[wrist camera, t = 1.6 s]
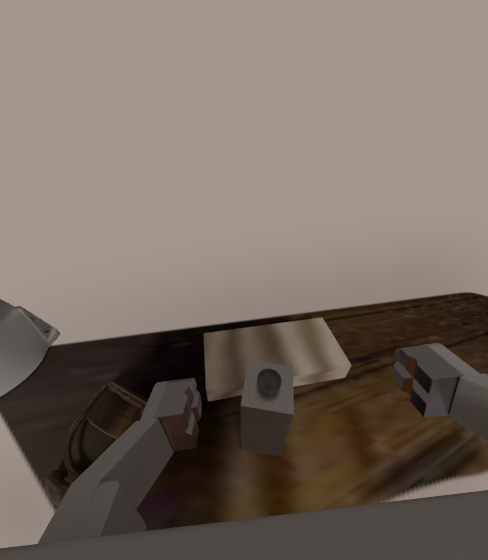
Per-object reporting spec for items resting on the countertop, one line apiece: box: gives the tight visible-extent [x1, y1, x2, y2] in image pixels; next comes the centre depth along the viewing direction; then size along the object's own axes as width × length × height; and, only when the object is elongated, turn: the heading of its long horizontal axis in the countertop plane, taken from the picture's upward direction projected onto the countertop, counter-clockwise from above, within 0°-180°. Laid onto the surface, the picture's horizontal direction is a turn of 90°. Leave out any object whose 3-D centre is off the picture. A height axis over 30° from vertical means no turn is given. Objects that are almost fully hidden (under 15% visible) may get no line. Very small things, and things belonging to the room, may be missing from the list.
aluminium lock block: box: [241, 360, 294, 456], centre depth 26 cm, size 5×5×13 cm
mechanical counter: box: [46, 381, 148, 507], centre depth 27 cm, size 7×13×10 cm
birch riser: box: [204, 318, 351, 401], centre depth 38 cm, size 22×10×4 cm, turn 100°
